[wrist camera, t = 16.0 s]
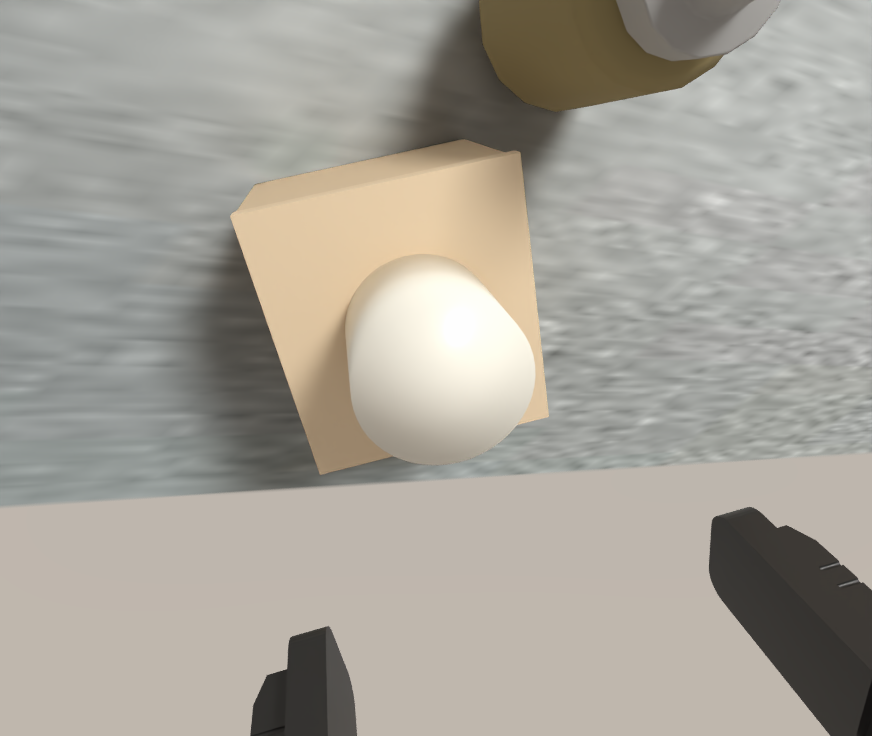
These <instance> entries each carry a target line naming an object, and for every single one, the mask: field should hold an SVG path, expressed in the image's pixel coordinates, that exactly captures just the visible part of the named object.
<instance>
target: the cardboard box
mask: <svg viewBox="0 0 872 736" xmlns="http://www.w3.org/2000/svg"><path fill="white" fill-rule="evenodd" d="M500 153H505V152H502V151H499V150H496V149H493V148H490V147H487V146H484V145H481V144H478V143H475V142H472V141H469V140H466V139H461V140H456V141H451V142H447V143H442V144H438V145H433V146H429V147H424V148H419V149H415V150H410V151H406V152H401V153H396V154H392V155H387V156H383V157H378V158H373V159H369V160H364V161H360V162H355V163H351V164H346V165H341V166H337V167H332V168H328V169H323V170H318V171H314V172H309V173H305V174H300V175H296V176H291V177H286V178H282V179H277V180H273V181H268V182H263V183H259V184H255V185H254V187H253V188H252V190H251V191H250V192H249V194H248V195H247V197H246V198H245V200H244V201H243V203H242V204H241V205H240V207H239V208H238V210H237V211H240V210H245V209H249V208H254V207H259V206H263V205H268V204H272V203H277V202H281V201H286V200H290V199H295V198H300V197H304V196H309V195H313V194H318V193H322V192H327V191H332V190H336V189H341V188H345V187H350V186H354V185H359V184H363V183H368V182H373V181H377V180H382V179H386V178H391V177H395V176H400V175H404V174H409V173H414V172H418V171H423V170H427V169H432V168H436V167H441V166H446V165H450V164H455V163H459V162H464V161H468V160H473V159H477V158H482V157H487V156H491V155H496V154H500Z"/></svg>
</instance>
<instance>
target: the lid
mask: <svg viewBox="0 0 872 736" xmlns="http://www.w3.org/2000/svg"><path fill="white" fill-rule="evenodd" d="M230 217H231V220H232V223H233V226H234V229H235V232H236V235H237V238H238V240H239V243H240V246H241V249H242V252H243V255H244V258H245V260H246V263H247V266H248V269H249V272H250V275H251V278H252V281H253V283H254V286H255V289H256V292H257V295H258V298H259V301H260V304H261V306H262V309H263V312H264V315H265V318H266V321H267V324H268V327H269V329H270V332H271V335H272V338H273V341H274V344H275V347H276V350H277V352H278V355H279V358H280V361H281V364H282V367H283V370H284V372H285V375H286V378H287V381H288V384H289V387H290V390H291V393H292V395H293V398H294V401H295V404H296V407H297V410H298V413H299V416H300V418H301V421H302V424H303V427H304V430H305V433H306V436H307V439H308V441H309V444H310V447H311V450H312V453H313V456H314V459H315V462H316V464H317V467H318V470H319V473H320V475H322V474H326V473H329V472H333V471H337V470H341V469H345V468H349V467H353V466H357V465H361V464H365V463H369V462H373V461H377V460H381V459H385V458H389V457H392V455H390V454H389V453H387V452H385V451H384V450H382V449H381V448H380V447H378V446H377V445H376V444H375V443H374V442H373V441H372V440H371V439H370V438H369V437H368V436H367V435H366V433H365V432H364V431H363V429H362V428H361V426H360V424H359V422H358V420H357V418H356V416H355V413H354V410H353V406H352V401H351V393H350V382H349V371H348V360H347V349H346V338H345V320H346V314H347V310H348V307H349V304H350V302H351V299H352V297H353V295H354V294H355V292H356V290H357V289H358V287H359V286H360V285H361V283H362V282H363V281H364V280H365V279H366V278H367V277H368V276H369V275H370V274H371V273H372V272H374V271H375V270H376V269H377V268H379V267H381V266H382V265H384V264H386V263H388V262H390V261H392V260H394V259H397V258H400V257H404V256H408V255H415V254H431V255H439V256H443V257H447V258H449V259H452V260H454V261H456V262H458V263H460V264H462V265H463V266H465V267H466V268H468V269H469V270H470V271H472V272H473V273H474V274H475V275H476V277H477V278H478V279H479V280H480V281H481V282H482V283H483V285H484V286H485V287H486V288H487V289H488V290H489V292H490V293H491V294H492V295H493V296H494V298H495V299H496V300H497V301H498V302H499V304H500V305H501V306H502V307H503V308H504V310H505V311H506V312H507V313H508V314H509V315H510V317H511V318H512V319H513V320H514V321H515V323H516V324H517V325H518V326H519V328H520V329H521V330H522V332H523V333H524V334H525V336H526V338H527V340H528V342H529V344H530V347H531V350H532V353H533V356H534V362H535V385H534V390H533V394H532V398H531V400H530V403H529V405H528V408H527V410H526V412H525V413H524V415H523V417H522V418H521V420H520V421H519V423H518V424H522V423H526V422H530V421H534V420H538V419H542V418H546V417H549V414H548V404H547V395H546V386H545V376H544V367H543V358H542V348H541V339H540V330H539V320H538V311H537V302H536V292H535V283H534V274H533V265H532V255H531V246H530V237H529V227H528V218H527V209H526V199H525V190H524V181H523V171H522V162H521V153H520V152H518V151H515V150H514V151H509V152H505V153H500V154H496V155H491V156H487V157H482V158H477V159H473V160H468V161H464V162H459V163H455V164H450V165H446V166H441V167H436V168H432V169H427V170H423V171H418V172H414V173H409V174H404V175H400V176H395V177H391V178H386V179H382V180H377V181H373V182H368V183H363V184H359V185H354V186H350V187H345V188H341V189H336V190H332V191H327V192H322V193H318V194H313V195H309V196H304V197H300V198H295V199H290V200H286V201H281V202H277V203H272V204H268V205H263V206H259V207H254V208H249V209H245V210H240V211H236V212H233V213H232V214H231V216H230ZM518 424H517V425H518Z"/></svg>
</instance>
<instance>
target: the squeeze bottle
mask: <svg viewBox="0 0 872 736" xmlns="http://www.w3.org/2000/svg"><path fill="white" fill-rule="evenodd" d="M780 1H781V0H479V9H480V20H481V31H482V42H483V46H484V49H485V51H486V53H487V55H488V57H489V59H490V61H491V64H492V66H493V68H494V70H495V72H496V74H497V76H498V78H499V80H500V81H501V82H502V83H503V84H504V85H505V86H507V87H508V88H509V89H510V90H511V91H512V92H513V93H514V94H515V95H517V96H518V97H519V98H520V99H521V100H522V101H523V102H524V103H527V104H530V105H534V106H537V107H540V108H544V109H547V110H551V111H554V112H558V111H564V110H570V109H576V108H582V107H588V106H593V105H598V104H603V103H608V102H613V101H618V100H623V99H628V98H633V97H638V96H643V95H648V94H653V93H658V92H663V91H668V90H673V89H678V88H682V87H684V86H685V85H687V84H688V83H690V82H691V81H693V80H694V79H696V78H698V77H699V76H701V75H702V74H704V73H705V72H707V71H708V70H710V69H711V68H713V67H715V65H716V64H717V63H718V62H719V60H720V59H721V58H722V57H723V55H725V54H728V53H729V52H731V51H732V50H734V49H736V48H737V47H739V46H740V45H742V44H743V43H745V42H746V41H748V40H750V39H751V38H753V37H754V36H755V35H756V34H757V33H758V31H759V30H760V29H761V28H762V26H763V25H764V24H765V23H766V21H767V20H768V19H769V18H770V16H771V15H772V14H773V13H774V11H775V10H776V9H777V8H778V6H779V3H780Z"/></svg>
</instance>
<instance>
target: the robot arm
mask: <svg viewBox="0 0 872 736" xmlns="http://www.w3.org/2000/svg"><path fill="white" fill-rule="evenodd" d="M711 527H712V528H711V543H710V559H709V573H710V578H711V581H712V583H713V586H714V588H715V590H716V592H717V594H718V595H719V597H720V598H721V599H722V601H723V602H724V603H725V605H726V606H727V607H728V609H729V610H730V611H731V612H732V613H733V615H734V616H735V617H736V619H737V620H738V621H739V622H740V624H741V625H742V626H743V627H744V629H745V630H746V631H747V632H748V634H749V635H750V636H751V637H752V639H753V640H754V641H755V642H756V644H757V645H758V646H759V647H760V648H761V650H762V651H763V652H764V653H765V655H766V656H767V657H768V658H769V660H770V661H771V662H772V663H773V665H774V666H775V667H776V668H777V670H778V671H779V672H780V673H781V675H782V676H783V677H784V678H785V680H786V681H787V682H788V683H789V685H790V686H791V687H792V688H793V690H794V691H795V692H796V693H797V694H798V696H799V697H800V698H801V700H802V701H803V702H804V703H805V705H806V706H807V707H808V708H809V710H810V711H811V712H812V713H813V715H814V716H815V717H816V718H817V720H818V721H819V722H820V723H821V725H822V726H823V727H824V728H825V730H826V731H827V732H828V733H829V734H830V736H872V590H871V589H870V588H869V587H867V586H866V585H865V584H864V583H860V582H859V580H858V578H857V577H856V576H855V575H854V574H853V573H852V572H851V571H849V570H848V569H847V568H846V567H845V566H844V565H842V566H841V565H840V563H839V561H838V560H837V559H836V558H835V557H834V556H833V555H832V554H831V553H829V552H828V551H827V550H826V549H825V548H824V547H823V546H822V545H820V544H819V543H818V542H817V541H816V540H814V539H812V538H810V537H808V536H806V535H804V534H803V533H801V532H799V531H797V530H795V529H793V528H791V527H789V526H787V525H786V526H782V527H779V528H776V527H775V526H774V525H773V524H772V523H771V522H770V521H769V520H768V519H767V518H766V517H765V516H764V515H763V514H762V513H760V512H759V511H758V510H756V509H754V508H752V507H747V508H744V509H740V510H737V511H733V512H730V513H726V514H723V515H719V516H716V517H714V518H713V520H712V526H711ZM251 736H357V730H356V716H355V703H354V696H353V690H352V685H351V681H350V677H349V674H348V671H347V669H346V666H345V664H344V661H343V659H342V656H341V653H340V651H339V648H338V646H337V643H336V641H335V638H334V636H333V633H332V631H331V629H330V627H329V626H328V627H324V628H320V629H317V630H313V631H310V632H306V633H303V634H299V635H296V636H292V637H291V638H290V640H289V647H288V667H287V670H283V671H280V672H276V673H273V674H270V675H267V677H266V679H265V681H264V683H263V686H262V687H261V690H260V692H259V694H258V697H257V698H256V701H255V703H254V705H253V715H252V725H251Z"/></svg>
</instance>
